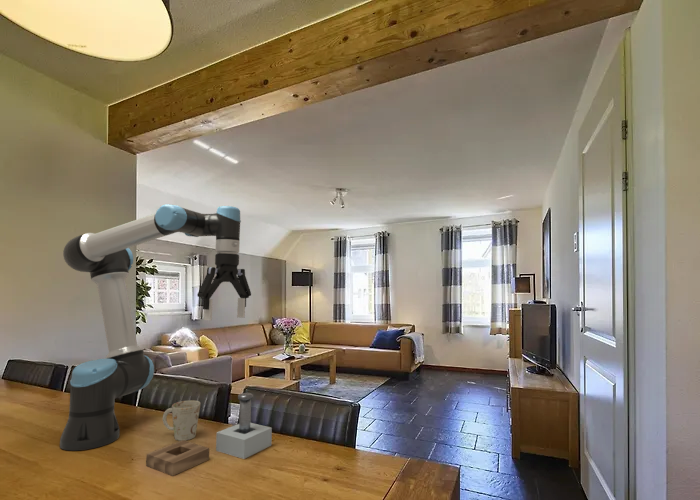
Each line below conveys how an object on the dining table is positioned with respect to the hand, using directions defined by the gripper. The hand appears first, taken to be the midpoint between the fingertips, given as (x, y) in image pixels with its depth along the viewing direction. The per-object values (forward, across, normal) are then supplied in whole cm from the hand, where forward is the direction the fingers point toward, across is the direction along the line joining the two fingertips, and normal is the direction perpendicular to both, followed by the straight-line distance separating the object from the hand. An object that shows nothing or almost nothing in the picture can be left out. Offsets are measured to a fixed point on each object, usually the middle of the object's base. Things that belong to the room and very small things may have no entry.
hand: (225, 318), depth 129 cm
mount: (+36, -20, -6) cm, 42 cm away
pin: (+36, -3, -14) cm, 39 cm away
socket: (+36, -3, -14) cm, 39 cm away
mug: (+37, -8, +10) cm, 39 cm away
